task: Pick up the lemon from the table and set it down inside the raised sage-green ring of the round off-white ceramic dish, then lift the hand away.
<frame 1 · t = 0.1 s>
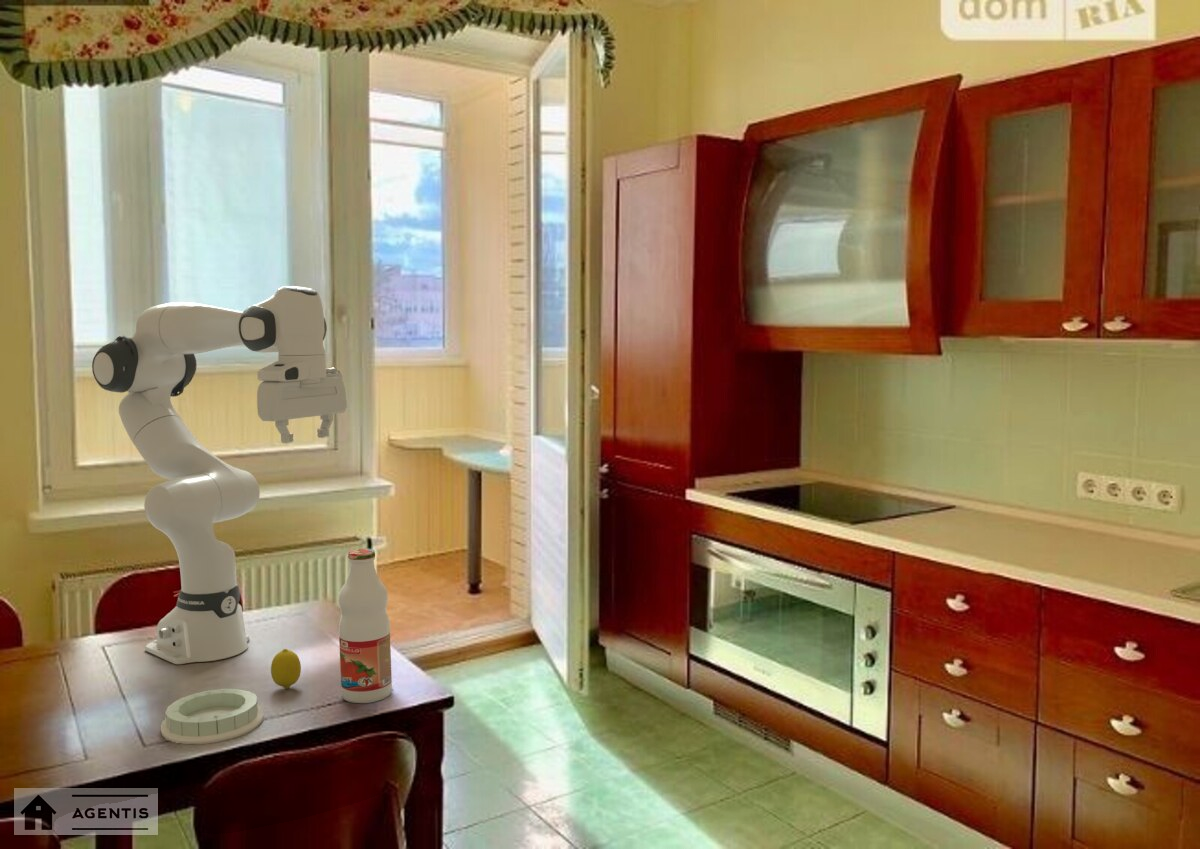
hand: (305, 440, 190), 48 cm above the table, tool pointing down, fingers open, 8 cm apart
ceramic dish: (213, 723, 172), on the table
lemon: (286, 689, 189), on the table
fruit juice: (367, 695, 185), on the table
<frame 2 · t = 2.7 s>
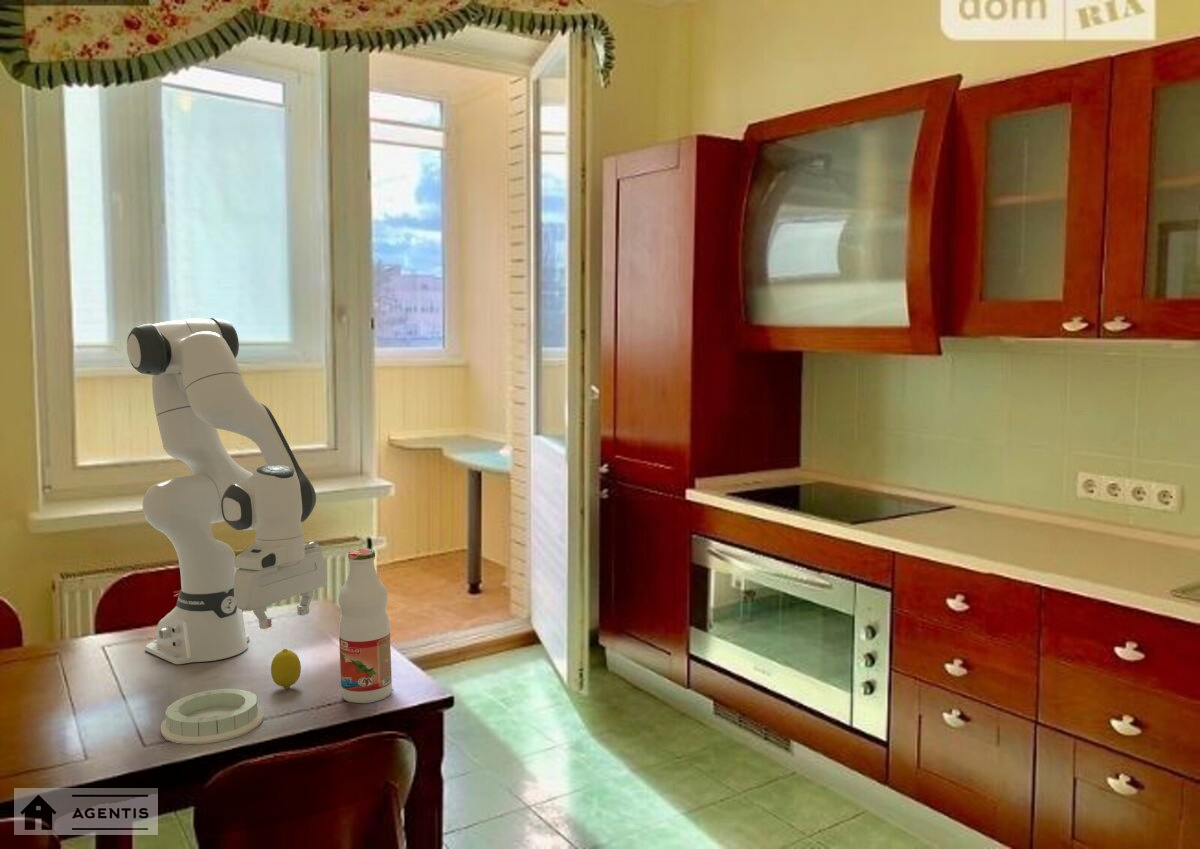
hand: (285, 621, 187), 14 cm above the table, tool pointing down, fingers open, 8 cm apart
nothing on the table moved.
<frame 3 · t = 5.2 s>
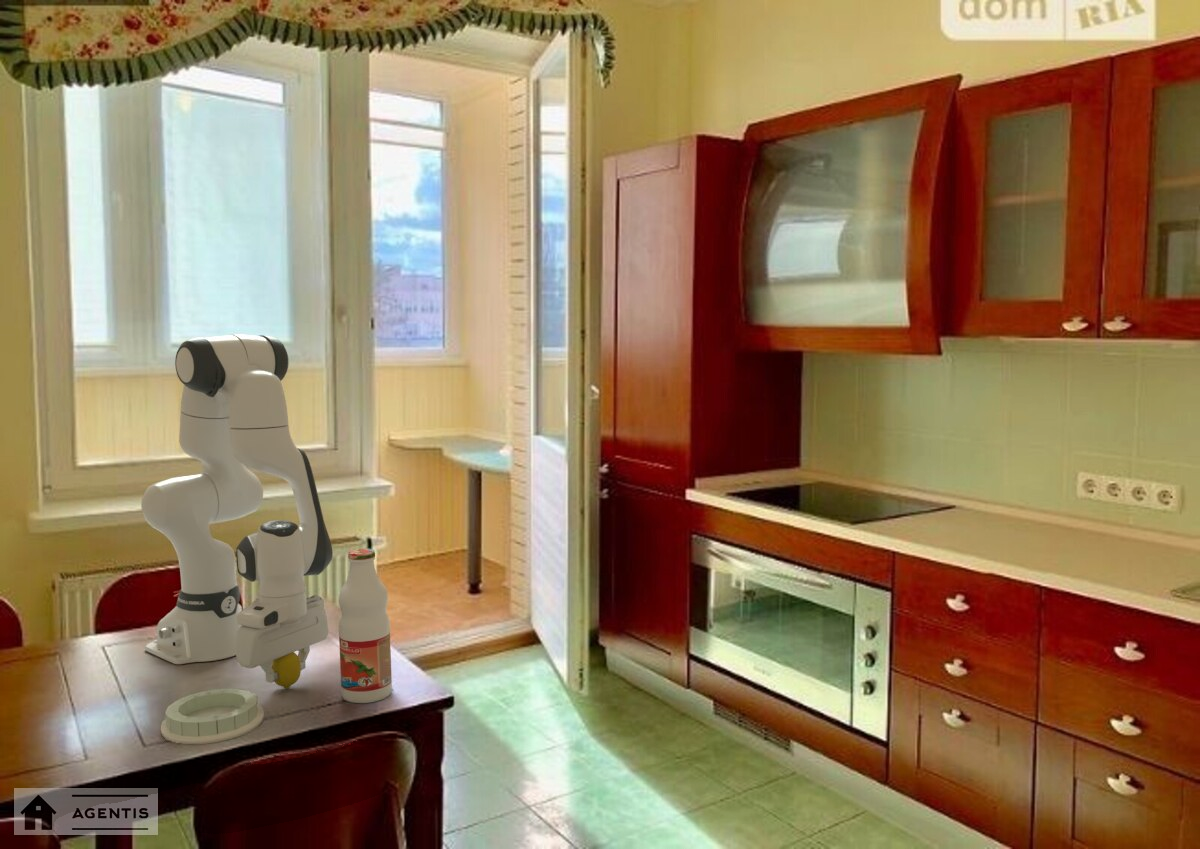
hand: (286, 675, 188), 3 cm above the table, tool pointing down, fingers closed on lemon, 6 cm apart
lemon: (286, 689, 189), on the table, touching gripper
everything else where it was.
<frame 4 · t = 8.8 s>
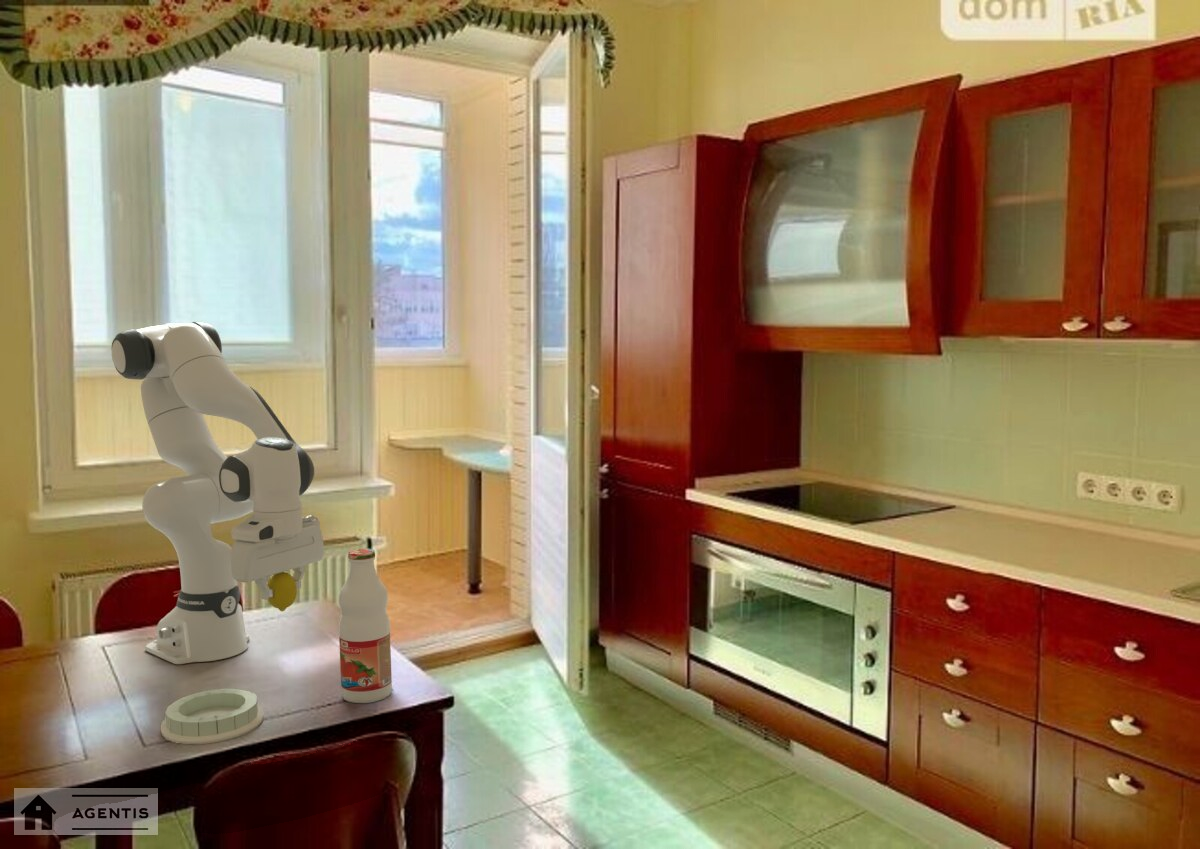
hand: (281, 593, 186), 19 cm above the table, tool pointing down, fingers closed on lemon, 6 cm apart
lemon: (282, 612, 187), point 15 cm above the table, touching gripper
everything else where it was.
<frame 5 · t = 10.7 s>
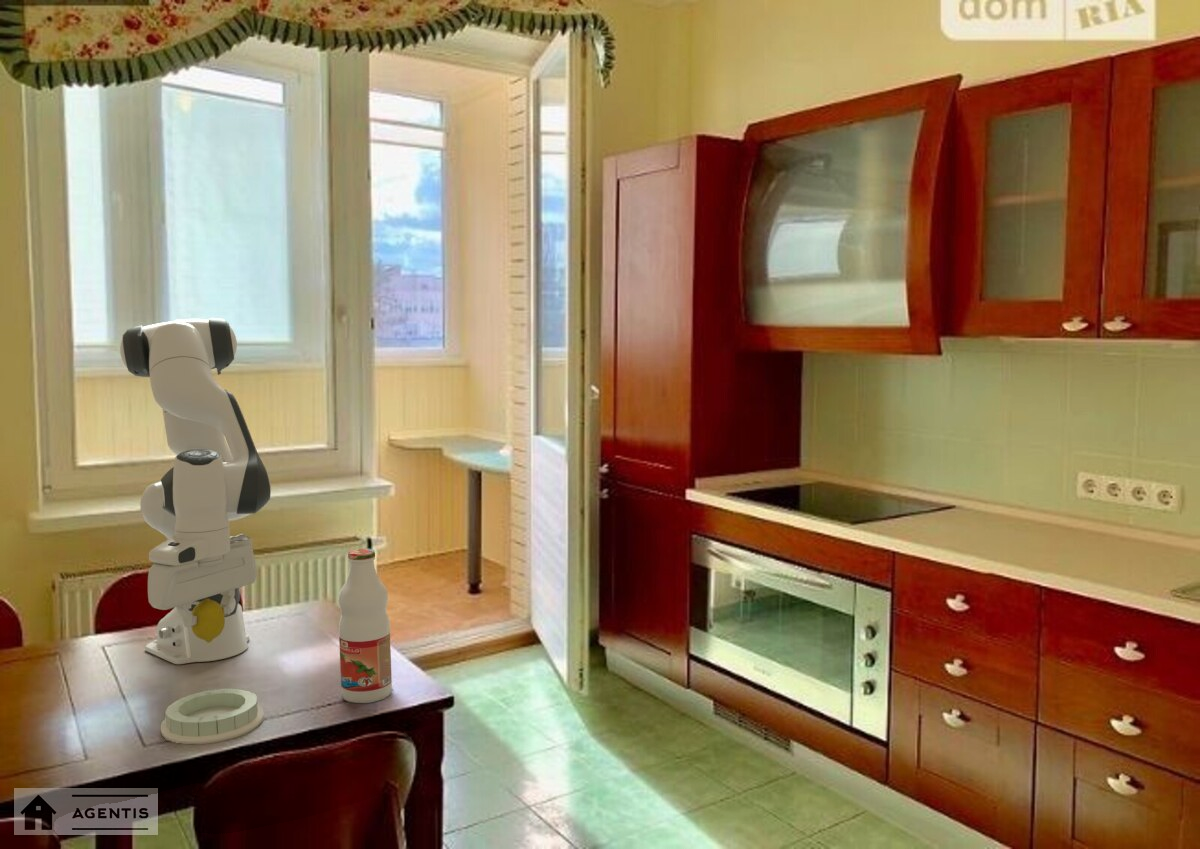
hand: (207, 620, 170), 19 cm above the table, tool pointing down, fingers closed on lemon, 6 cm apart
lemon: (209, 643, 171), point 15 cm above the table, touching gripper
everything else where it was.
when the fingers open (8 cm above the table, at t = 12.5 s): lemon drops 2 cm, resting on ceramic dish.
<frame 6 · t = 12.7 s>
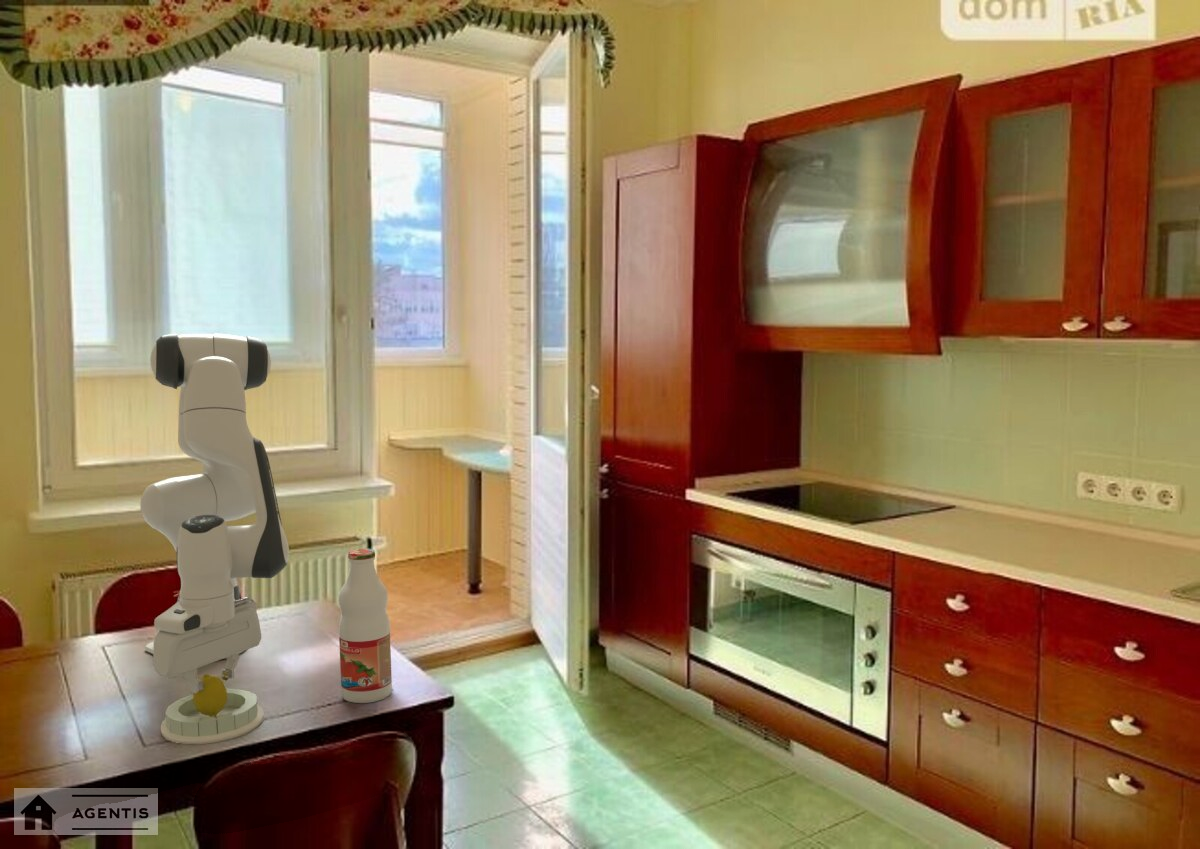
hand: (212, 685, 172), 7 cm above the table, tool pointing down, fingers open, 5 cm apart
lemon: (213, 718, 172), point 1 cm above the table, touching ceramic dish, gripper
everything else where it was.
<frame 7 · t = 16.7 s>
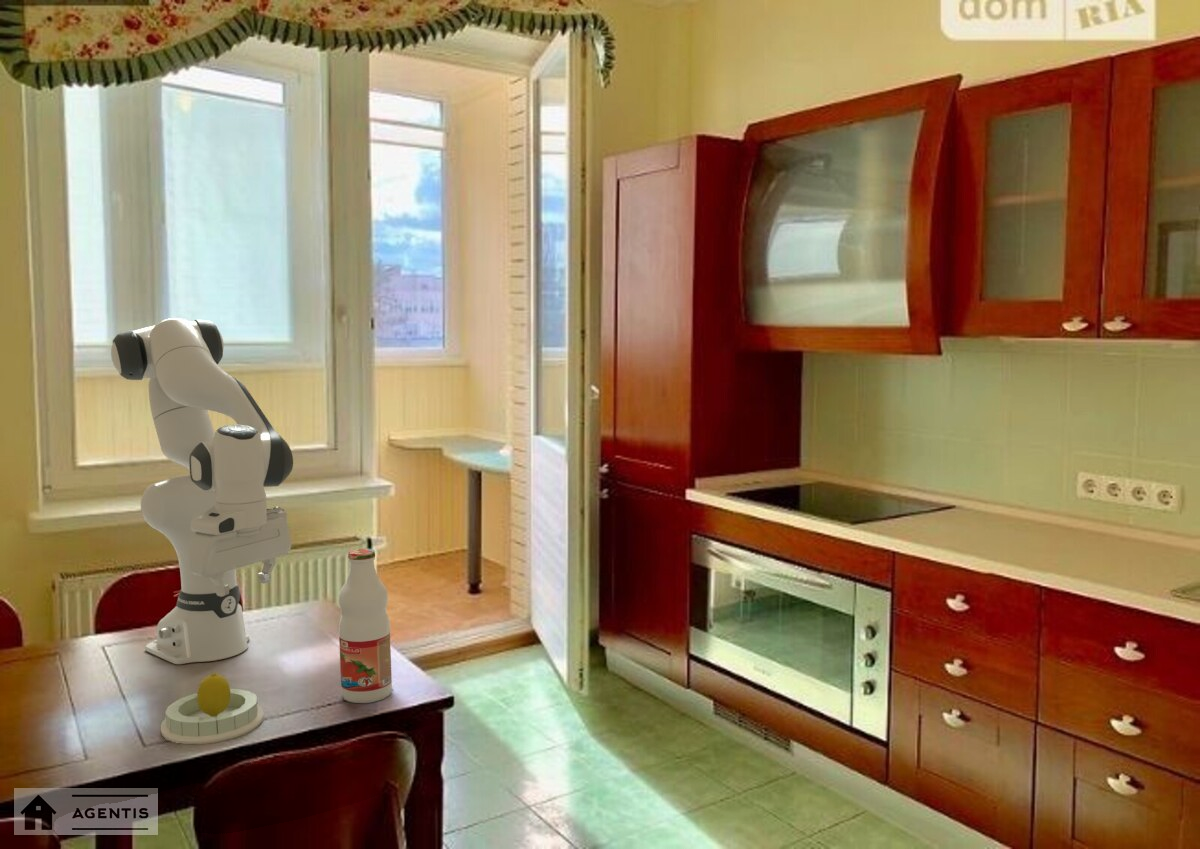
hand: (244, 588, 178), 22 cm above the table, tool pointing down, fingers open, 8 cm apart
lemon: (213, 718, 172), point 1 cm above the table, touching ceramic dish
everything else where it was.
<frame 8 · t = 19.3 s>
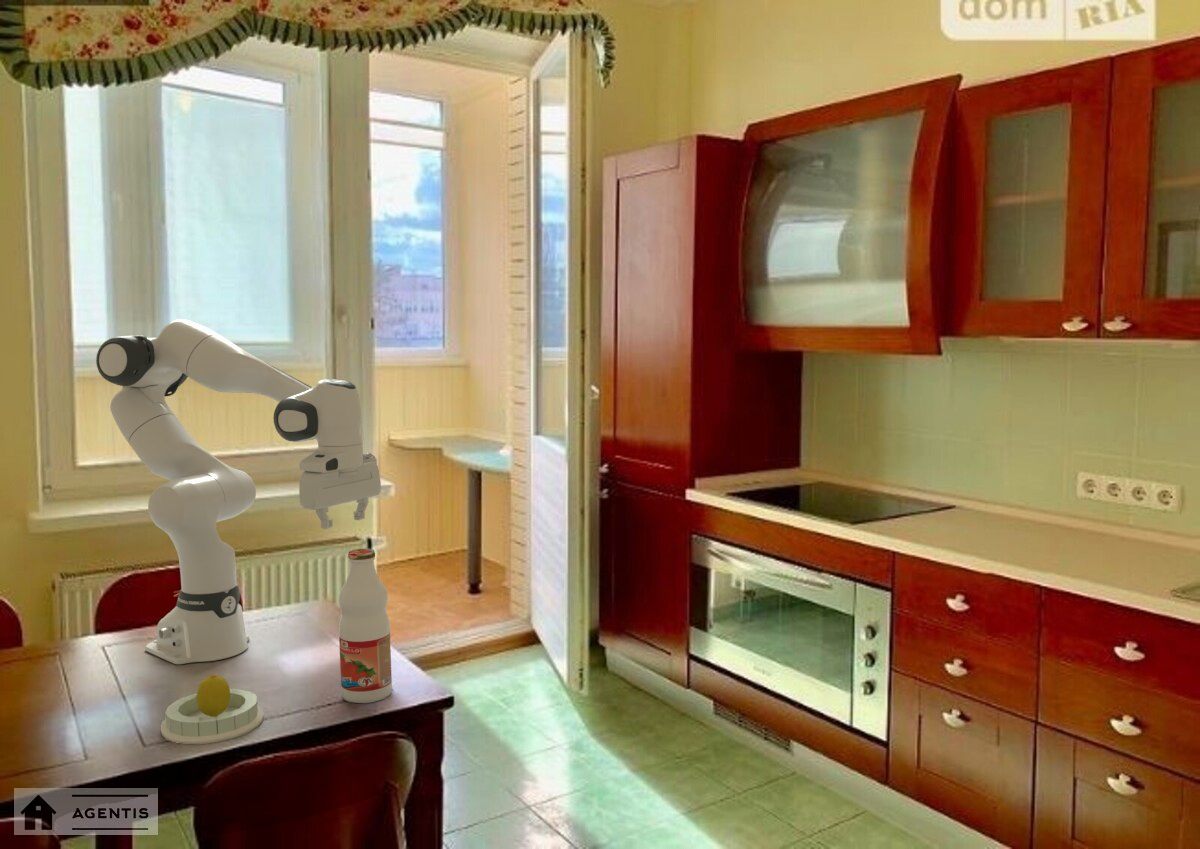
hand: (343, 523, 201), 29 cm above the table, tool pointing down, fingers open, 8 cm apart
nothing on the table moved.
at the end: lemon inside the target area on the ceramic dish (0.2 cm from its centre), point 0.8 cm above the ceramic dish's base; the gripper is holding nothing; fruit juice moved 0.2 cm from its start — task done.
